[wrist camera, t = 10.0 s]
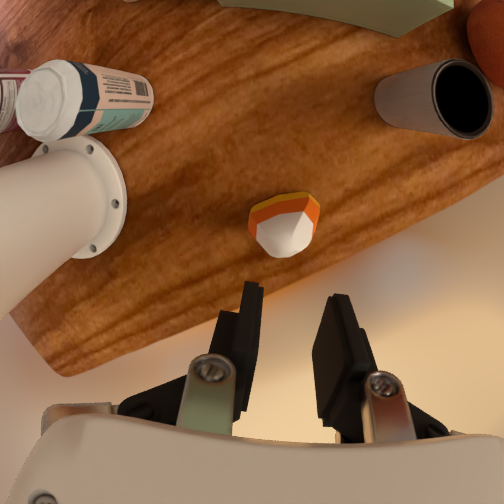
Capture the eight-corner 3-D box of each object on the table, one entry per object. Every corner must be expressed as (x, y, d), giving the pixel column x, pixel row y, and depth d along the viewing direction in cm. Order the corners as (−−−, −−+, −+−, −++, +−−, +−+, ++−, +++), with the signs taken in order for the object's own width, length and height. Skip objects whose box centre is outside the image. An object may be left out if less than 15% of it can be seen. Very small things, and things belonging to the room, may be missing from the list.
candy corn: (254, 235, 27) (246, 281, 20) (243, 203, 26) (230, 239, 19) (322, 216, 26) (339, 257, 19) (313, 183, 25) (328, 212, 18)
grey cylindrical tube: (424, 127, 22) (497, 140, 12) (376, 129, 22) (436, 140, 13) (418, 75, 20) (489, 63, 11) (369, 75, 21) (424, 54, 11)
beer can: (119, 68, 22) (26, 51, 11) (165, 84, 22) (84, 68, 11) (99, 117, 23) (3, 131, 13) (142, 135, 24) (54, 157, 13)
